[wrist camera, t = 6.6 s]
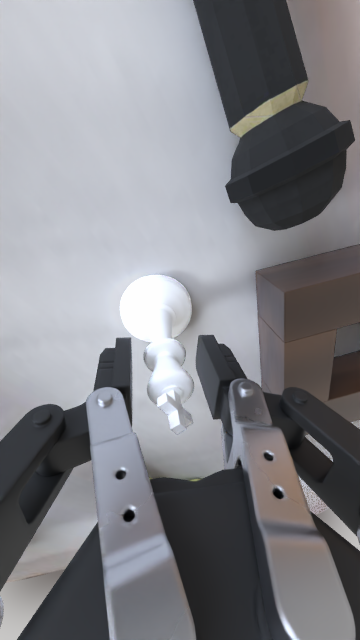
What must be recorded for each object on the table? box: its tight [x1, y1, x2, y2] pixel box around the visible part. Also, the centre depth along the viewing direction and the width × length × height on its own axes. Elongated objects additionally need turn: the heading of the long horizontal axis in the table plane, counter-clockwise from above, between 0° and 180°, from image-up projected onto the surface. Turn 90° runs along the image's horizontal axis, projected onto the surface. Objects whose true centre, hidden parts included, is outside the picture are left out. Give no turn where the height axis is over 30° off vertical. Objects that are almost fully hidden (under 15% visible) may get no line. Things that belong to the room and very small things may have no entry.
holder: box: [256, 244, 360, 435], centre depth 20 cm, size 14×14×4 cm
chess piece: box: [120, 275, 194, 435], centre depth 14 cm, size 5×5×10 cm
